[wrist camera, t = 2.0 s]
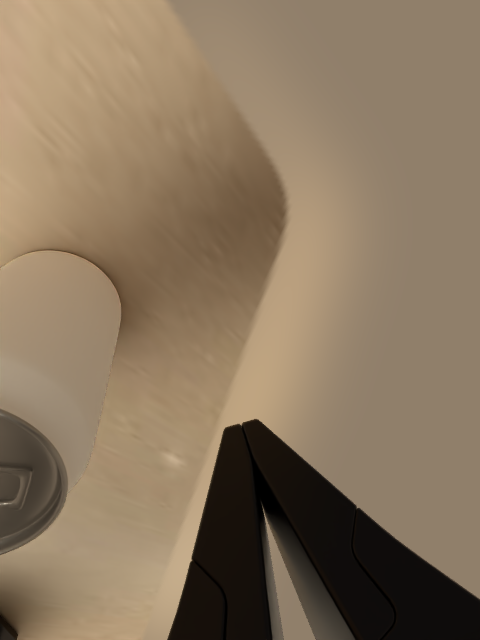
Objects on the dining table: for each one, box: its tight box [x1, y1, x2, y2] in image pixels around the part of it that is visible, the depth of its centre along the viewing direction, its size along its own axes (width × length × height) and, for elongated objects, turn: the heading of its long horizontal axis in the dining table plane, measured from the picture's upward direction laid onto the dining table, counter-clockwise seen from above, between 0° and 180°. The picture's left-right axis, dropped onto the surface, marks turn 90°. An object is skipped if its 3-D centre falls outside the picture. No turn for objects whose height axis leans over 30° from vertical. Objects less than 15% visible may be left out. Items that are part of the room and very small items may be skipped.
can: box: [0, 250, 121, 555], centre depth 14 cm, size 6×6×12 cm
